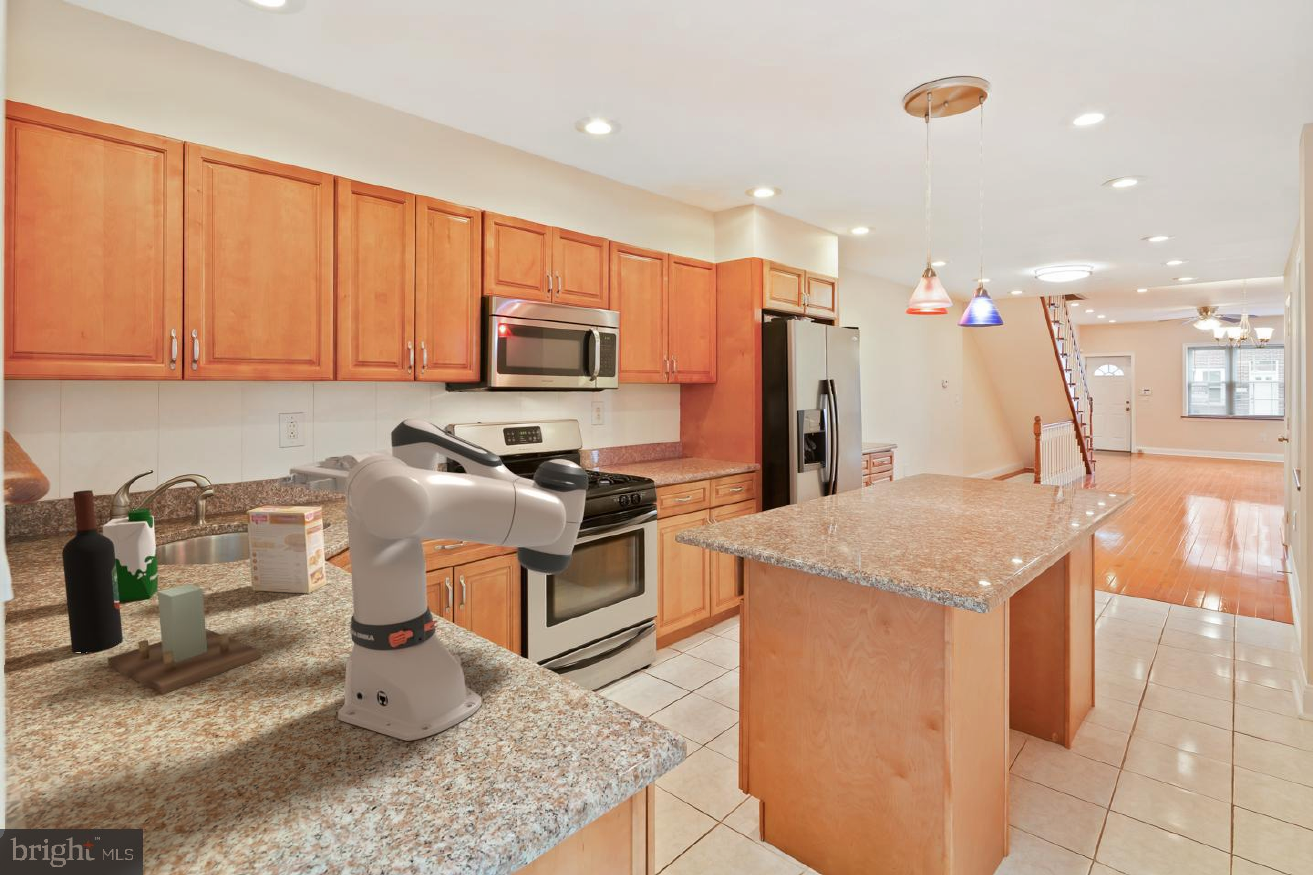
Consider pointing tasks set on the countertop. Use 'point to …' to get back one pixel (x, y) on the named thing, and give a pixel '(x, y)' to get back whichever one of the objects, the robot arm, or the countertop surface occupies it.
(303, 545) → the coffeecake box
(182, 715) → the countertop surface
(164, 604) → the block
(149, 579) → the milk carton
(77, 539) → the wine bottle
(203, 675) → the nest board
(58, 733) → the countertop surface
